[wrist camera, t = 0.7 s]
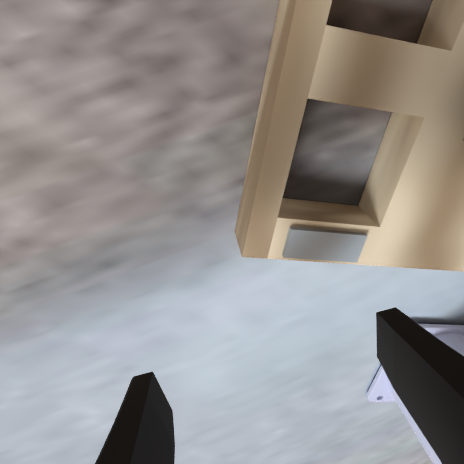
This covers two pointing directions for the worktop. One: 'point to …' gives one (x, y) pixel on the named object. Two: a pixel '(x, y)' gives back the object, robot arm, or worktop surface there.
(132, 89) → the worktop surface
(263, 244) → the socket board
